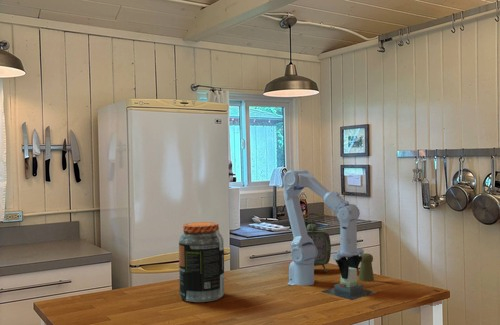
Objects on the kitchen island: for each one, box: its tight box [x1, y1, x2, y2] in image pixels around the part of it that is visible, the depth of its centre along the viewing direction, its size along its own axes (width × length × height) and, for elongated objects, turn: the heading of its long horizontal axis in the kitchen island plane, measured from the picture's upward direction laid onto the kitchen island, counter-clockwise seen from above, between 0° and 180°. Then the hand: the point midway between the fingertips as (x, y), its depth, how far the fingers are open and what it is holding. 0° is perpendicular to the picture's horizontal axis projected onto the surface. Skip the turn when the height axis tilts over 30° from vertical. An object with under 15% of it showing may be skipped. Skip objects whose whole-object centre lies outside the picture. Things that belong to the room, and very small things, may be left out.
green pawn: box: [358, 252, 375, 282], centre depth 193 cm, size 6×6×11 cm
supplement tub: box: [178, 221, 225, 303], centre depth 174 cm, size 16×16×26 cm
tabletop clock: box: [302, 212, 332, 273], centre depth 211 cm, size 14×9×25 cm, turn 90°
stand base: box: [320, 282, 378, 301], centre depth 176 cm, size 14×14×4 cm
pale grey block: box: [339, 267, 358, 288], centre depth 176 cm, size 4×4×6 cm
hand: (348, 277), depth 176 cm, fingers closed on pale grey block, 4 cm apart
